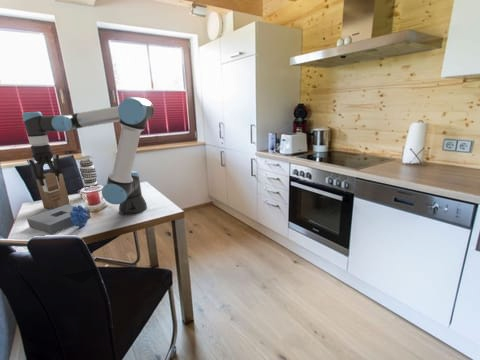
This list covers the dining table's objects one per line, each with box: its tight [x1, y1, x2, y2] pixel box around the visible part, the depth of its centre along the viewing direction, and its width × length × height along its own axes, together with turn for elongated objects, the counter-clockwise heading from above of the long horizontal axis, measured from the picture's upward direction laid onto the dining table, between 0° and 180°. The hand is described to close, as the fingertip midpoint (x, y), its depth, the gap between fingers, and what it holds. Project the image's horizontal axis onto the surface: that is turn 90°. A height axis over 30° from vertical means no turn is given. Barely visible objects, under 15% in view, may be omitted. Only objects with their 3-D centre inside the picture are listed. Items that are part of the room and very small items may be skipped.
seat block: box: [26, 204, 92, 235], centre depth 135 cm, size 20×20×5 cm
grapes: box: [70, 204, 88, 228], centre depth 128 cm, size 12×7×12 cm, turn 178°
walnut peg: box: [43, 172, 61, 202], centre depth 130 cm, size 5×5×14 cm
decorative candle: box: [78, 158, 99, 189], centre depth 175 cm, size 9×9×25 cm
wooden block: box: [35, 173, 70, 209], centre depth 157 cm, size 10×10×20 cm
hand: (51, 189), depth 130 cm, fingers closed on walnut peg, 5 cm apart
